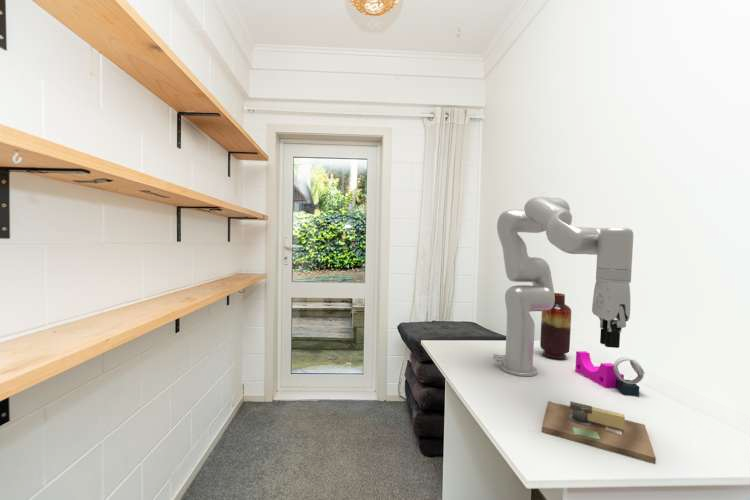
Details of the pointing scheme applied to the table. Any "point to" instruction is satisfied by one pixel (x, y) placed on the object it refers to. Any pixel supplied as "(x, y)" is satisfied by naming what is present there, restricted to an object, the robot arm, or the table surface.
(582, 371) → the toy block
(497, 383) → the table surface
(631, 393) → the watch
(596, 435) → the wooden lever switch board
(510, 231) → the robot arm
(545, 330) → the vase
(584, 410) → the lever handle
